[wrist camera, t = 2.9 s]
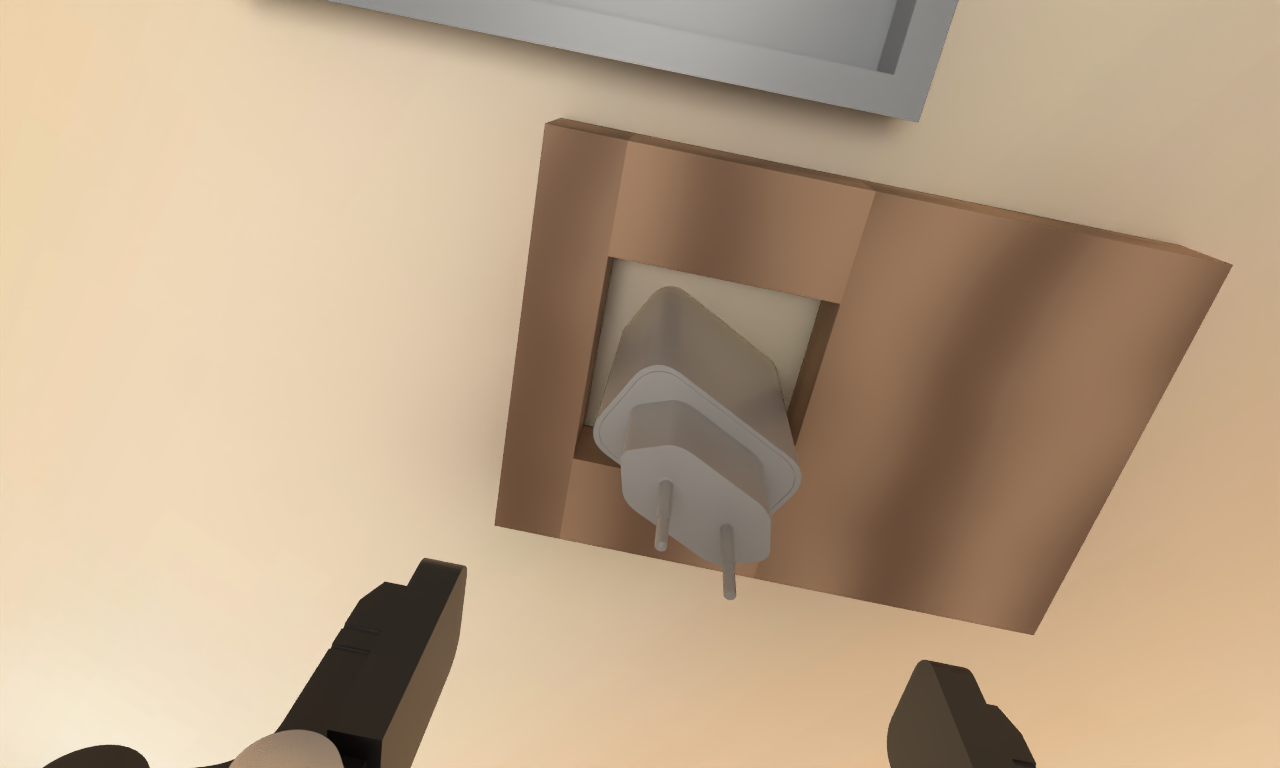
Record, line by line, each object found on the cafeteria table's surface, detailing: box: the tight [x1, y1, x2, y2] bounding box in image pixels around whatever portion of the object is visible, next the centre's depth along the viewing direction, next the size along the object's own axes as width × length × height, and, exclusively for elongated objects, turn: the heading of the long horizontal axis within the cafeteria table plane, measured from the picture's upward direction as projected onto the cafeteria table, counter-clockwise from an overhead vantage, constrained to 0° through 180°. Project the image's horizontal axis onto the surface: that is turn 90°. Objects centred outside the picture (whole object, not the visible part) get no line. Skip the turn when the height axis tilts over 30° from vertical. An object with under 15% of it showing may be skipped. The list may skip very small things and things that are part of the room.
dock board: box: [495, 118, 1233, 635], centre depth 25 cm, size 20×14×2 cm
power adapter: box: [593, 287, 801, 600], centre depth 20 cm, size 3×5×12 cm, turn 52°
